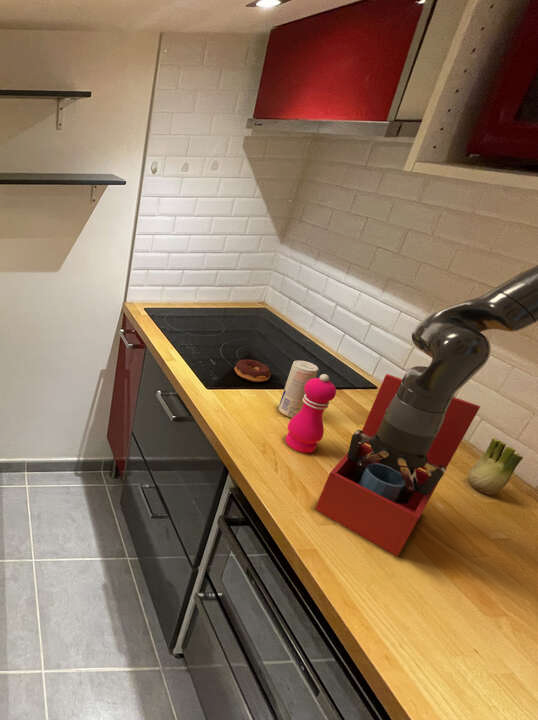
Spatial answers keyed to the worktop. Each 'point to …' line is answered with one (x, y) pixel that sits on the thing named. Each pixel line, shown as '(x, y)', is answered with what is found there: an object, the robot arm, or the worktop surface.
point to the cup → (383, 481)
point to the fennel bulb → (494, 468)
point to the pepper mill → (310, 415)
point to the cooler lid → (449, 433)
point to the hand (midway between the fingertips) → (378, 490)
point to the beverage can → (296, 387)
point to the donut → (252, 370)
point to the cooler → (370, 507)
